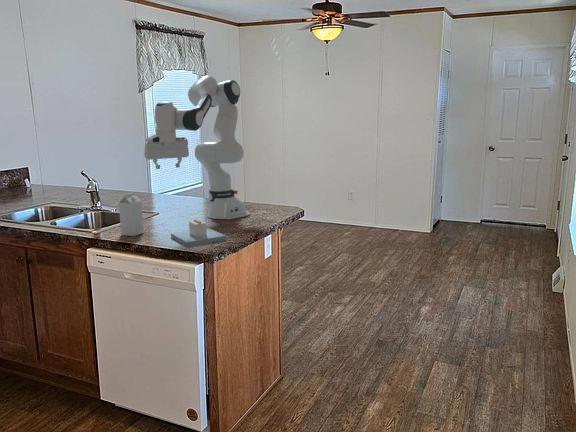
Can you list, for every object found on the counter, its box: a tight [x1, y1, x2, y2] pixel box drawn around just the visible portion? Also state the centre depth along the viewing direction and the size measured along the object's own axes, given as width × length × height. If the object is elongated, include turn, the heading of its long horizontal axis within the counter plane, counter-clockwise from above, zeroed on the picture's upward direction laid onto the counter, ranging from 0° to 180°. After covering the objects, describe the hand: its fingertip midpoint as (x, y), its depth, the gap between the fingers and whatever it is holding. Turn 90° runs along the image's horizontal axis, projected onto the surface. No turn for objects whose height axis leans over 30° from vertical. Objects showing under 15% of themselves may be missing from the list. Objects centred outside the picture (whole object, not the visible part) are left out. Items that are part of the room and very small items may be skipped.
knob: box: [188, 218, 207, 237], centre depth 222 cm, size 5×7×6 cm
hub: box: [170, 227, 227, 248], centre depth 222 cm, size 18×18×5 cm
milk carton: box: [118, 191, 145, 237], centre depth 231 cm, size 7×7×19 cm
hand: (168, 168), depth 235 cm, fingers open, 8 cm apart
